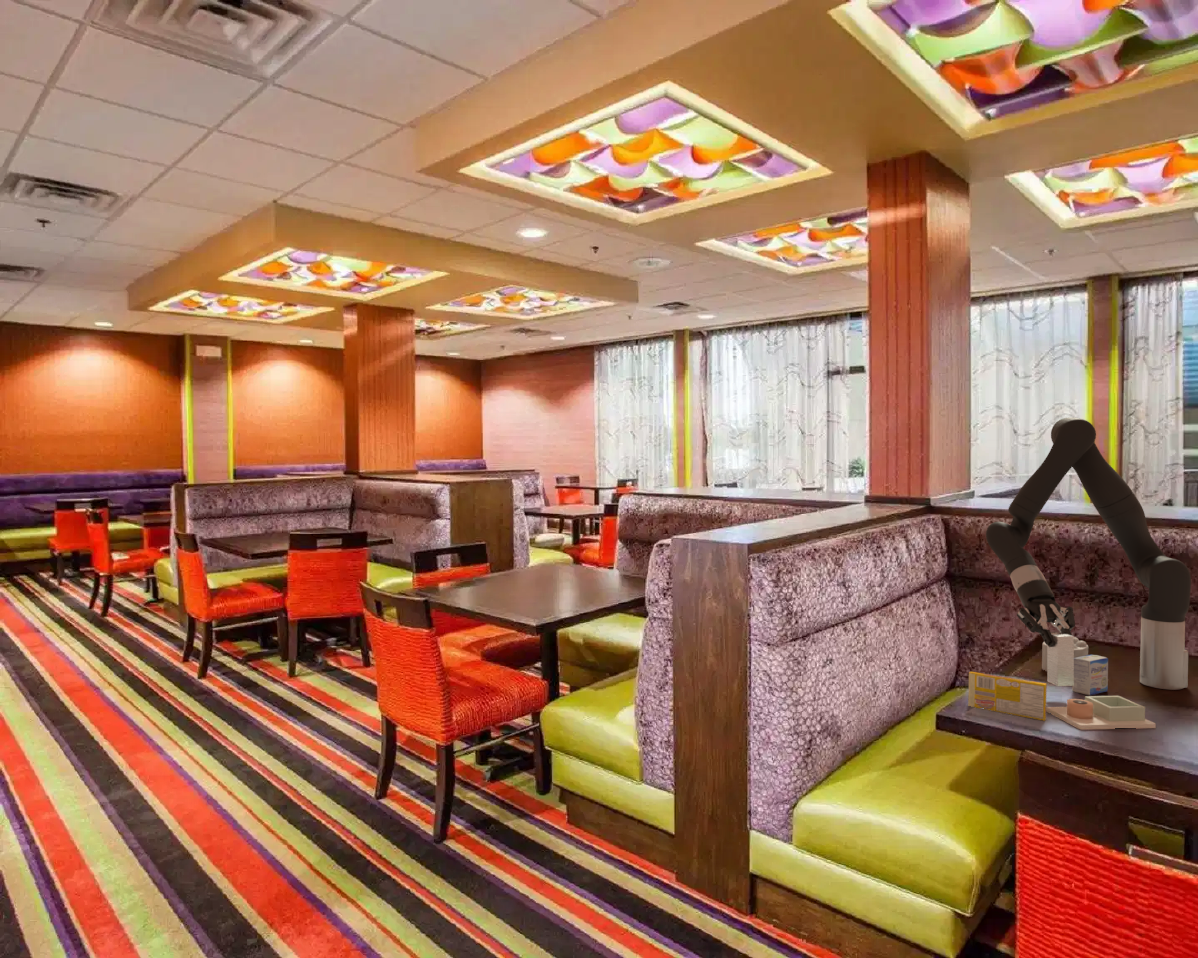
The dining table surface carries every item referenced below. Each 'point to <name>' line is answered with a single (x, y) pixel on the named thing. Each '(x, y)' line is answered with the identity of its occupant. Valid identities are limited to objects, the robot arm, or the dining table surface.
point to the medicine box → (1090, 675)
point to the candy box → (1007, 695)
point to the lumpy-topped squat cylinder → (1079, 651)
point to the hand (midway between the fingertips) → (1061, 644)
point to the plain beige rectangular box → (1061, 660)
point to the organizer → (1102, 713)
